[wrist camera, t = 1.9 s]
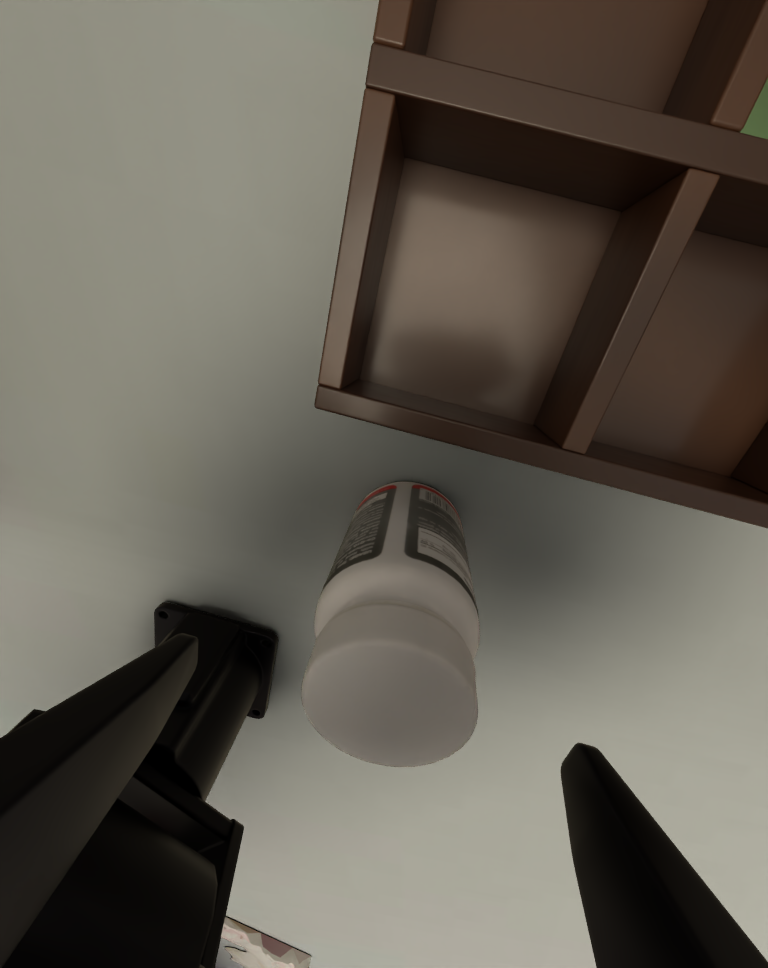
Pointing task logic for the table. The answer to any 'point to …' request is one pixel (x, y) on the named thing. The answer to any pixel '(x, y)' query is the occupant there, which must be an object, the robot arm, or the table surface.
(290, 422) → the table surface
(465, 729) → the pill bottle
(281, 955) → the potted flower
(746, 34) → the rack
